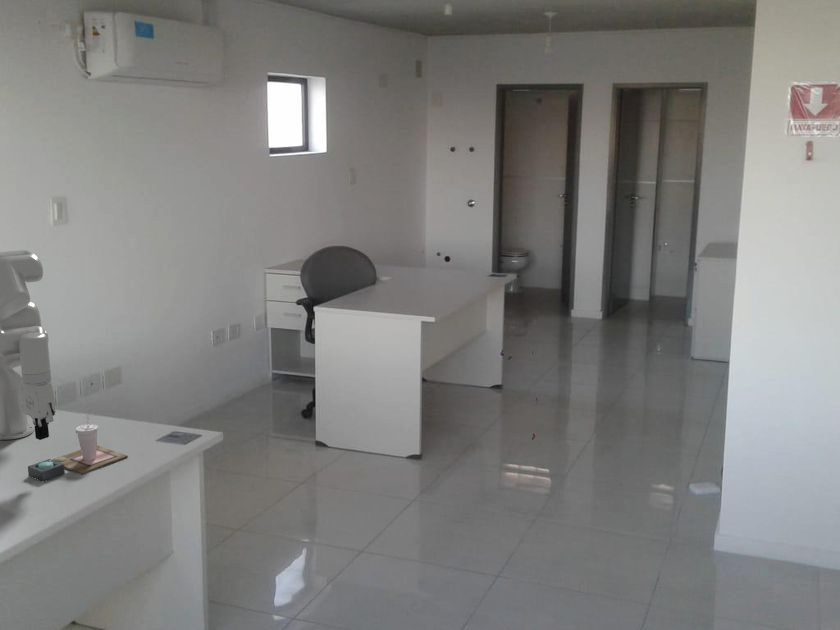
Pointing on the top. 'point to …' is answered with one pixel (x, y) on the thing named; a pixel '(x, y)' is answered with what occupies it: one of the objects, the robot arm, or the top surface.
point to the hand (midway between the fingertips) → (42, 437)
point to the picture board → (82, 466)
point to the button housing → (46, 471)
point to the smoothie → (88, 440)
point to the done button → (45, 465)
